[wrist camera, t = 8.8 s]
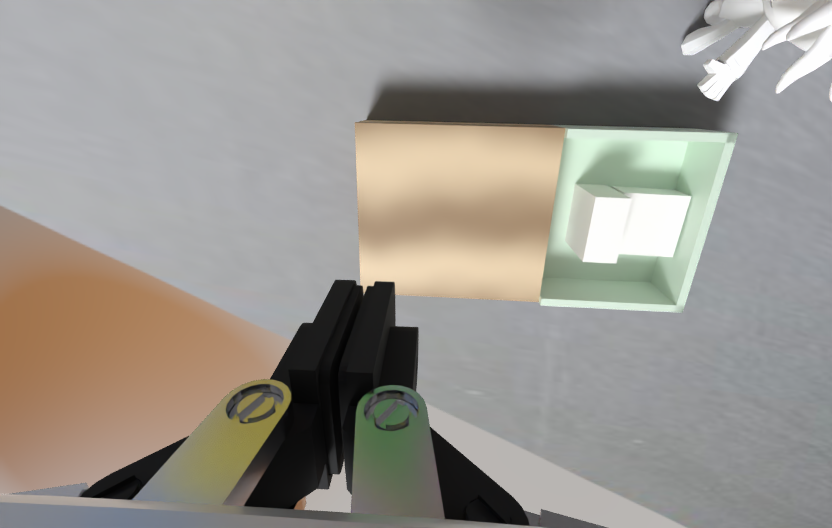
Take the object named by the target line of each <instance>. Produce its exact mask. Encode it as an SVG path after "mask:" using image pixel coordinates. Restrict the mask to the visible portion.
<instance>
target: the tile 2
mask: <svg viewBox="0 0 832 528" xmlns="http://www.w3.org/2000/svg"><path fill="white" fill-rule="evenodd" d="M612 188H613V189H615V190H616V191H618V192H620V193H622V194H624V195H626V196H628V197H630V198H632V199H631V203H630V208H629V212H628V216H627V220H626V225H625V229H624V233H623V237H622V242H621V246H620V250H619V254H628V255H644V256H661V257H673V255H674V252H675V248H676V245H677V242H678V239H679V235H680V232H681V229H682V225H683V222H684V219H685V216H686V212H687V209H688V206H689V203H690V199H691V196H689V195H687V194H684V193H682V192H679V191H677V190H674V189H655V188H636V187H617V186H612Z"/></svg>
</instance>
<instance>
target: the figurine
mask: <svg viewBox="0 0 832 528" xmlns="http://www.w3.org/2000/svg"><path fill="white" fill-rule="evenodd" d="M704 19H705V21H706V23H708V24H710V25H712V26H708V27H704V28H700V29H697V30H696V31H694V32H692V33H690V34H689V35H687V36H686V38H685V40H684V41H683V43H682V45H681V47H682V51H683V55H694V54H696V53H698V52H699V51H701V50H703V49H705V48H706V47H708V46H710V45H712V44H713V43H715V42H717V41H719V40H720V39H722V38H724V37H726V36H727V35H729V34H730V33H732V32H733V31H735V30H736V29H738V28H749V27H751V28H750V29H749V30H748V31H747V32H746V33H745V34H744V35H743V36H742V37H741V38H740V39H739V40H737V41H736V42H735V43H734V44H733V45H732V46H731V47H730V48H729V49H728V50H727V51H726V52H725V53H723V54H722V55H721V56H720V57H718V58H717V59H716V60H713V59H710V60H707V61H706V62H705V63H704V65H703V66H704V67H705V69H706V71H707V72H708V75H707V76H706V77H705V78H704V79H702V80H701V81H700V82H699V83H698V84H697V86H698V87H699V89H700V90H701V92H702V93H703V94H704V95H705V96H706V97H708V98H710V99H712V100H715V101H719V100H720V98H721V97H722V96H723V94H724V93H725V91H726V90H727V89H728V87H729V86H730V85H731V83H732V82H733V81H735V80H737V79H738V78H739V77H740V76H741V75H742V74H743V73H744V72H745V70H746V68H747V67H748V66H749V64H750V63H751V62H752V60H753V59H754V57H755V56H756V55H757V53H758V52H759V51H760V49H761V48H762V50H765V49H767V48H769V47H771V46H773V45H775V44H777V43H780V42H783V41H786V40H787V41H790V42H791V43H792V44H794V45H795V46H797V47H798V48H800V49H802V50H805V51H806V52H805V53H804V54H803V55H802V56H801V57H800V58H799V59H798V60H797V61H796V62H794V63H793V64H792V65H791V66H790V67H789V68H788V69H787V71H786V72H785V73H784V74H783V75H782V77H781V78H780V80H779V82H778V83H777V85H776V93H780V92H781V91H782V90H784V89H785V88H786V87H787V86H789V85H790V84H791V83H792V82H794V81H795V80H797V79H799V78H800V77H802V76H804V75H806V74H808V73H810V72H812V71H813V70H815V69H817V68H818V67H820V66H821V65H823V64H824V63H826V62H827V61H829V60H830V59H832V0H714V1H713V2H711V3H710V4H709V6H708V7H707V8H706V10H705V13H704ZM775 29H776V31H775V32H774V30H775ZM829 99H830V101H831V102H832V84H831V86H830V92H829Z"/></svg>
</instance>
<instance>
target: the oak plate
mask: <svg viewBox="0 0 832 528" xmlns="http://www.w3.org/2000/svg"><path fill="white" fill-rule="evenodd" d="M565 129H566V128H562V127H558V126H554V125H541V124H502V123H463V122H423V121H384V120H364V121H360V122H356V123H355V141H356V169H357V198H358V226H359V255H360V283H361V286H363V293H365V291H366V289H367V286H374V283H375V281H384V282H395V295H411V296H431V297H451V298H470V299H490V300H510V301H530V302H539V297H540V291H541V285H542V278H543V272H544V265H545V259H546V252H547V246H548V239H549V233H550V226H551V220H552V213H553V207H554V200H555V194H556V187H557V181H558V174H559V168H560V161H561V155H562V148H563V142H564V135H565Z"/></svg>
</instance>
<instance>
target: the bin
mask: <svg viewBox="0 0 832 528" xmlns="http://www.w3.org/2000/svg"><path fill="white" fill-rule="evenodd" d="M554 126H558V127H562V128H566V129H565V135H564V142H563V148H562V155H561V161H560V168H559V174H558V181H557V187H556V194H555V200H554V207H553V213H552V220H551V226H550V233H549V239H548V246H547V252H546V259H545V265H544V272H543V278H542V285H541V291H540V297H539V303H540V305H541V306H561V307H581V308H600V309H620V310H640V311H660V312H679V313H683V309H684V306H685V303H686V300H687V297H688V293H689V290H690V287H691V284H692V280H693V277H694V274H695V271H696V268H697V264H698V261H699V258H700V255H701V251H702V248H703V245H704V242H705V239H706V235H707V232H708V229H709V226H710V223H711V219H712V216H713V213H714V210H715V206H716V203H717V200H718V197H719V194H720V190H721V187H722V184H723V181H724V177H725V174H726V171H727V168H728V165H729V161H730V158H731V155H732V152H733V149H734V145H735V142H736V139H737V136H738V133H732V132H723V131H714V130H705V129H696V128H659V127H619V126H580V125H554ZM575 184H597V185H607V186H609V187H611V188H612V186H617V187H636V188H655V189H674V190H677V191H679V192H682V193H684V194H687V195H689V196H691V199H690V203H689V206H688V209H687V212H686V216H685V219H684V222H683V225H682V229H681V232H680V235H679V239H678V242H677V245H676V248H675V252H674V255H673V257H661V256H644V255H628V254H618V259H617V263H616V264H615V263H595V262H582V260H581V259H580V258H579V257H578V256H577V255H576V253H575V252H574V251H573V250H572V249H571V247H570V246H569V245H568V244H567V243H566V242H565V237H566V231H567V225H568V220H569V214H570V209H571V203H572V197H573V192H574V186H575Z"/></svg>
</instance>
